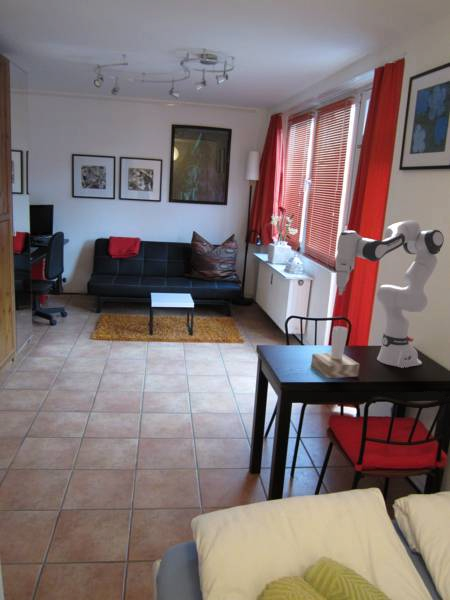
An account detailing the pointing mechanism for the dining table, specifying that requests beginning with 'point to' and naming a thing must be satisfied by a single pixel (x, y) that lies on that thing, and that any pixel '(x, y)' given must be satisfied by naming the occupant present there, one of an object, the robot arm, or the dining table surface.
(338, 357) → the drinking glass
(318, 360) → the birch block
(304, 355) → the dining table surface
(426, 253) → the robot arm
